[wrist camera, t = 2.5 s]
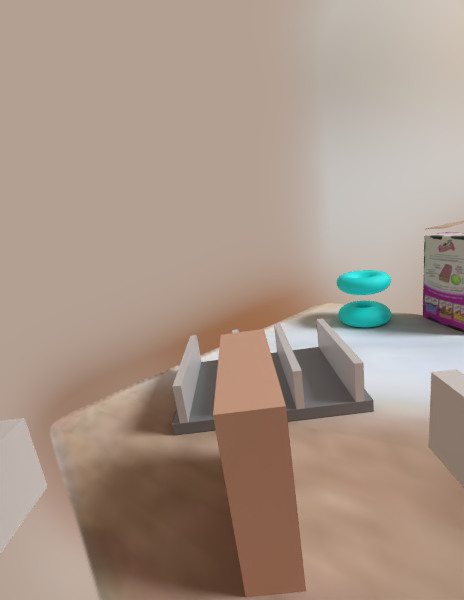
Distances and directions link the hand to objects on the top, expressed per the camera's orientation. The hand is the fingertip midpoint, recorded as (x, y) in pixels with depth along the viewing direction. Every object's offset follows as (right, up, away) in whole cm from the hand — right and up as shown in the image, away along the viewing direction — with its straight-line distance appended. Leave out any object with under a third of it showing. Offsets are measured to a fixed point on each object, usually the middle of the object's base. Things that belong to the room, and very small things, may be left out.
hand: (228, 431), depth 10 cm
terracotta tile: (+3, -14, +16) cm, 21 cm away
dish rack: (+5, -9, +34) cm, 36 cm away
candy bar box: (+42, 0, +47) cm, 62 cm away
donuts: (+28, 0, +54) cm, 61 cm away
